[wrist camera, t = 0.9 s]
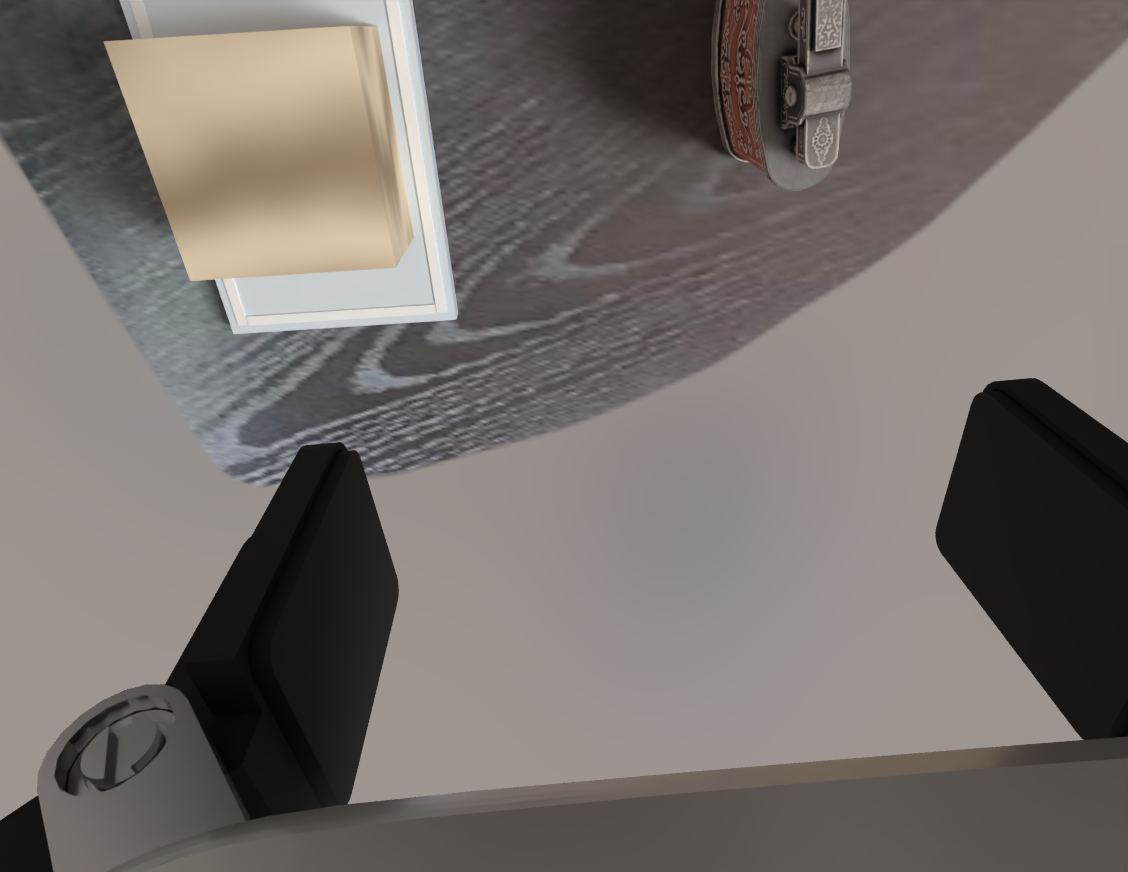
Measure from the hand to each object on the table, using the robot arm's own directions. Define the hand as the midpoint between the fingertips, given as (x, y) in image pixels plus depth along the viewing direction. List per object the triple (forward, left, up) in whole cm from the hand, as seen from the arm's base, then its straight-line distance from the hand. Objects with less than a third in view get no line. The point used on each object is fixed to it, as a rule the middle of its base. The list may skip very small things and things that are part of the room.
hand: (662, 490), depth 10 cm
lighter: (-4, +8, -27) cm, 28 cm away
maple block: (-2, -13, -25) cm, 29 cm away
